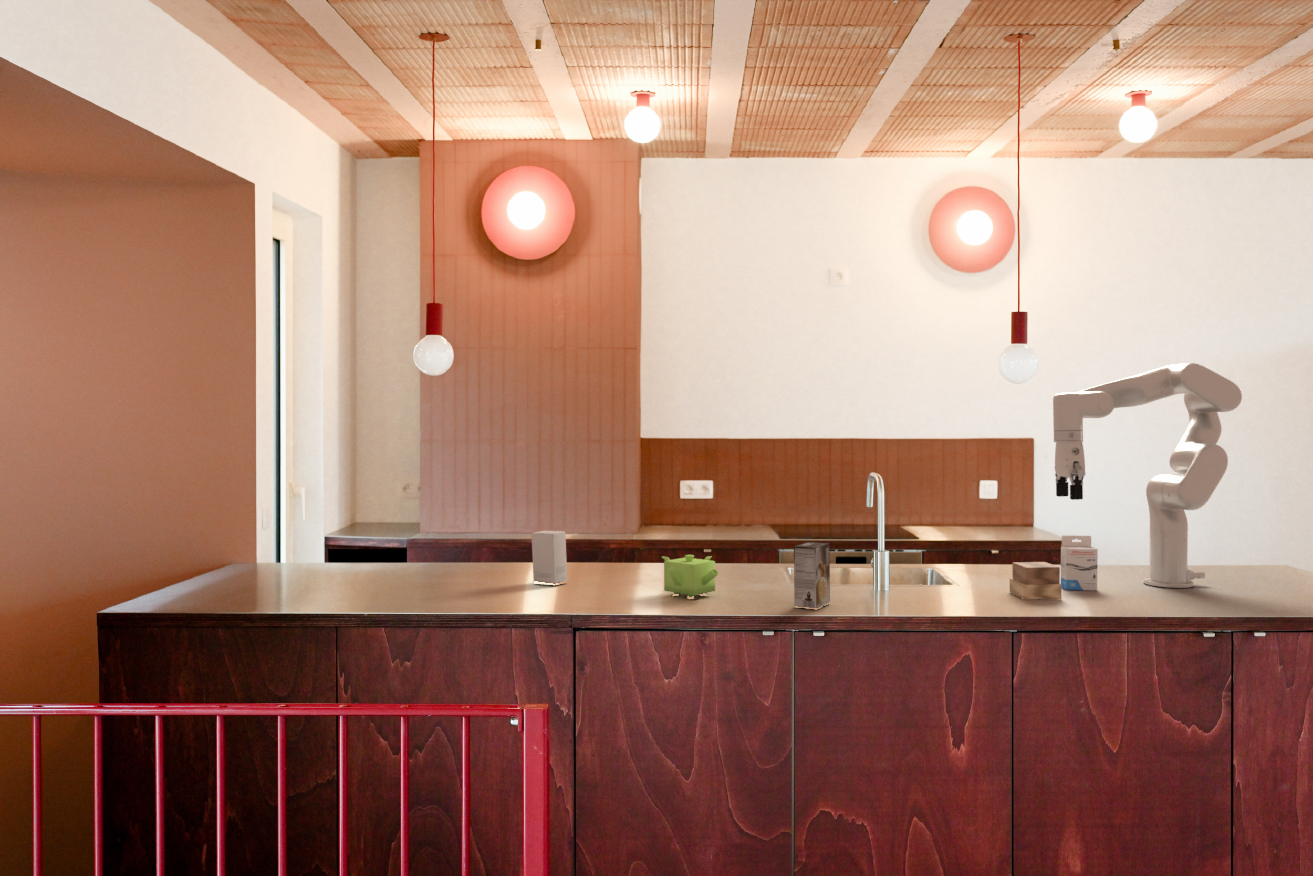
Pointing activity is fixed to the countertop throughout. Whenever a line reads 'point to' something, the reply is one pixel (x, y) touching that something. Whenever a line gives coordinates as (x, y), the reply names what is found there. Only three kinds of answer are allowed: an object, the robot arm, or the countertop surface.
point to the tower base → (1035, 590)
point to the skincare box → (549, 556)
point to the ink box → (1078, 564)
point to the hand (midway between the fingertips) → (1069, 497)
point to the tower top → (1036, 573)
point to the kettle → (689, 575)
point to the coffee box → (811, 574)
